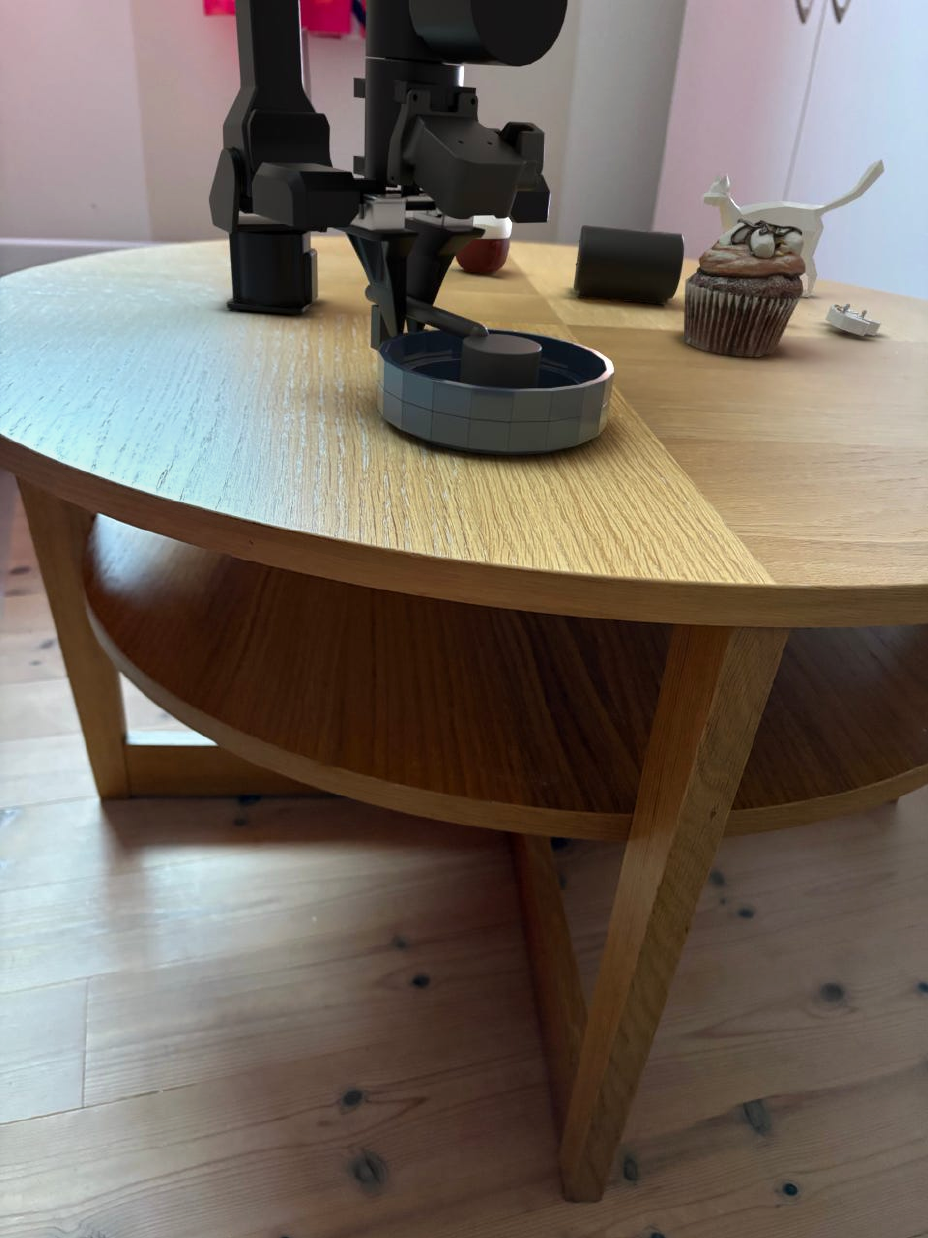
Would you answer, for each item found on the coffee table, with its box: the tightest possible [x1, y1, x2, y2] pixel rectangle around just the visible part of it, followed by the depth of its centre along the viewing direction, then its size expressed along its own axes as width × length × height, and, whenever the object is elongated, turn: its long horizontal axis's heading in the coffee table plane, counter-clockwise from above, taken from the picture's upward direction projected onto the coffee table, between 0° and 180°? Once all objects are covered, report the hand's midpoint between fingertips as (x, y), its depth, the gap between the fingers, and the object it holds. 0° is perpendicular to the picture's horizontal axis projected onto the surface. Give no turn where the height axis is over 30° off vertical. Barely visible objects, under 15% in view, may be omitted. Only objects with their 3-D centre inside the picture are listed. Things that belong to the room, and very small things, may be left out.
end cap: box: [573, 224, 685, 305], centre depth 89 cm, size 10×7×7 cm
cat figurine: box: [700, 158, 885, 298], centre depth 97 cm, size 4×20×14 cm, turn 99°
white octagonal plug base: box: [790, 303, 882, 337], centre depth 84 cm, size 6×12×3 cm, turn 100°
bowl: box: [376, 327, 616, 456], centre depth 54 cm, size 14×14×4 cm
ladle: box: [364, 284, 542, 389], centre depth 56 cm, size 17×5×4 cm, turn 36°
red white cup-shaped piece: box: [455, 216, 513, 274], centre depth 97 cm, size 10×6×12 cm, turn 1°
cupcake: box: [683, 219, 806, 358], centre depth 75 cm, size 10×10×10 cm
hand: (405, 336), depth 59 cm, fingers closed on ladle
